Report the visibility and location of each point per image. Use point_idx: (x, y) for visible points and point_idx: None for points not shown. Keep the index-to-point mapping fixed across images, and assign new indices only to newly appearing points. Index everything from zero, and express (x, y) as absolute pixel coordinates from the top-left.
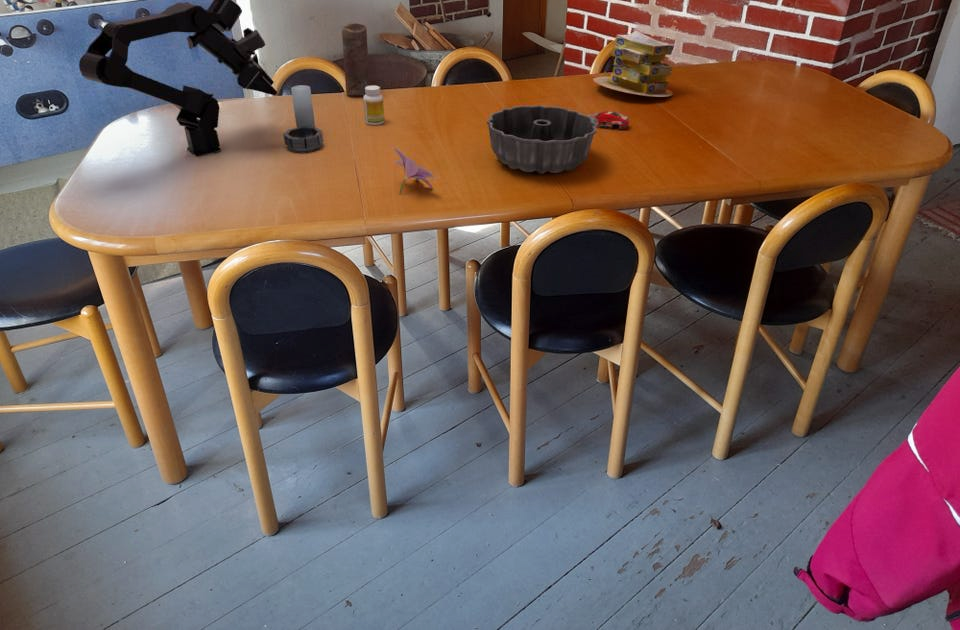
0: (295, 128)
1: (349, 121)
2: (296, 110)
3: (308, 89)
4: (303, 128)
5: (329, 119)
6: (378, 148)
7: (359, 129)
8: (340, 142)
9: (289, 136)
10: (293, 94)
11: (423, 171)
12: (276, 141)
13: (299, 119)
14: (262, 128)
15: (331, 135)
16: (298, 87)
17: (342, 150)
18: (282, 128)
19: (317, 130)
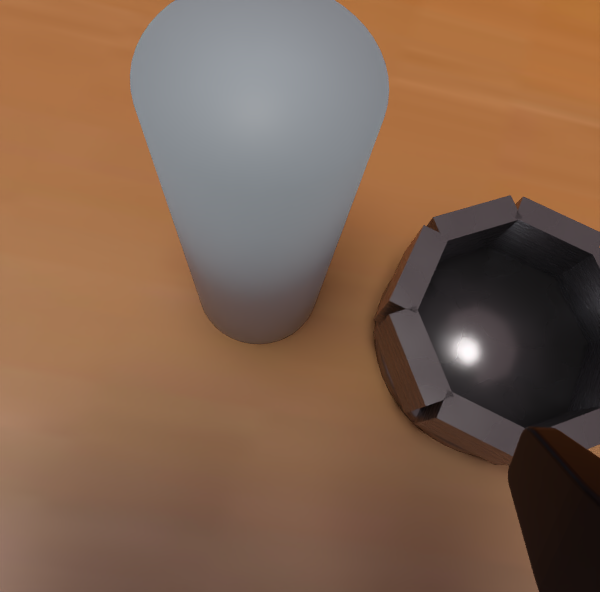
0: (419, 352)
1: None
2: (309, 275)
3: (349, 14)
4: (421, 296)
5: (58, 110)
6: (594, 21)
7: None
8: (471, 149)
9: (585, 426)
10: (313, 210)
11: None
12: (342, 507)
13: (314, 288)
14: (11, 578)
15: None
16: (225, 93)
17: (591, 168)
18: (87, 422)
19: (499, 218)
